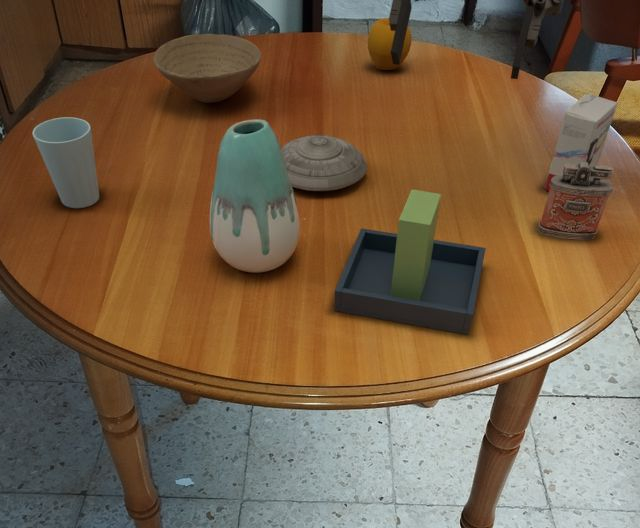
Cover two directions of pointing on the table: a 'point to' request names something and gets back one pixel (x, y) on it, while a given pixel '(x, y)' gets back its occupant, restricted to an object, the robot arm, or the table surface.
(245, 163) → the vase
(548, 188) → the ink box
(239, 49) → the bowl
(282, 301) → the table surface
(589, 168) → the lighter
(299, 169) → the flying saucer
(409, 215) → the sponge
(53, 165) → the cup
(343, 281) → the tray
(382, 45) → the apple
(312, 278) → the table surface
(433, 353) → the table surface
